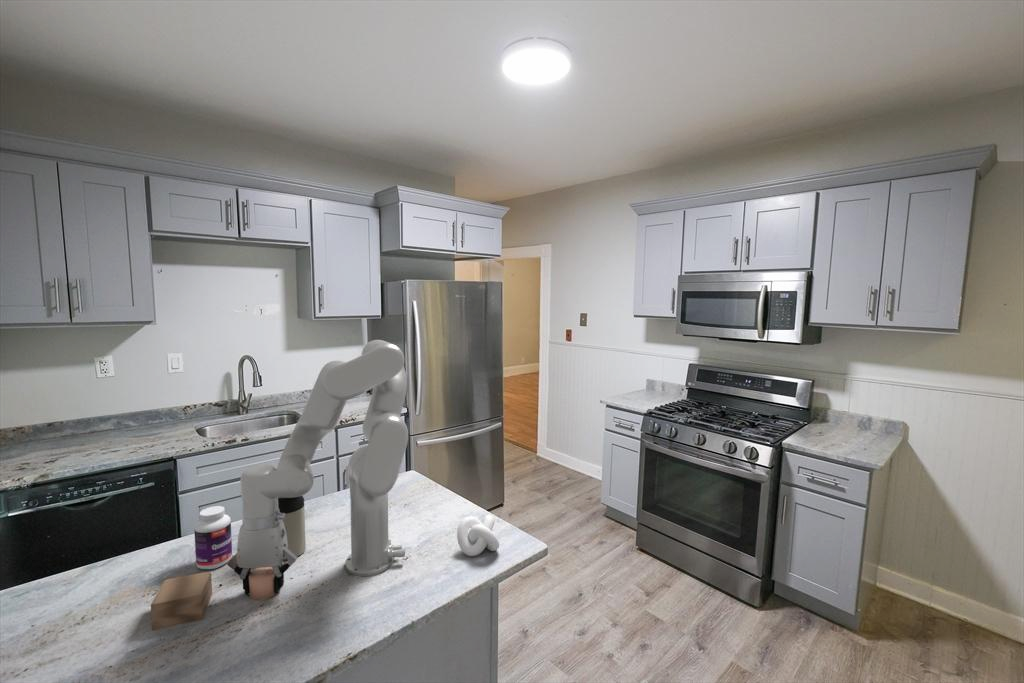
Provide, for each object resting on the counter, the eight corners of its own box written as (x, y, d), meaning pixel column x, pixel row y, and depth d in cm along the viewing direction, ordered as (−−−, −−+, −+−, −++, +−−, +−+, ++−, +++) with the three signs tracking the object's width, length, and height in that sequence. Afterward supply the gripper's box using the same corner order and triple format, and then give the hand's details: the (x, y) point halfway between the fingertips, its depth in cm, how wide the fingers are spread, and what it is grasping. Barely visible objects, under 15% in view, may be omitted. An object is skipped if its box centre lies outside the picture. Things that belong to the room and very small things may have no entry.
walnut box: (212, 594, 107) (211, 571, 106) (202, 620, 99) (201, 594, 98) (166, 604, 103) (164, 579, 103) (152, 631, 95) (150, 604, 95)
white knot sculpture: (510, 548, 128) (510, 519, 127) (481, 567, 119) (481, 535, 118) (481, 535, 135) (481, 506, 134) (452, 552, 126) (452, 521, 125)
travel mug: (278, 564, 119) (275, 499, 117) (270, 551, 125) (268, 489, 123) (309, 553, 124) (307, 491, 123) (300, 541, 130) (298, 481, 128)
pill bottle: (214, 573, 115) (211, 519, 113) (188, 569, 116) (185, 516, 115) (239, 556, 123) (237, 505, 121) (214, 552, 124) (212, 502, 123)
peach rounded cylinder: (281, 583, 111) (281, 564, 111) (272, 599, 105) (271, 579, 105) (256, 585, 110) (255, 566, 110) (244, 601, 105) (243, 581, 104)
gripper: (304, 509, 111) (306, 578, 113) (229, 512, 109) (233, 582, 110) (293, 525, 103) (296, 598, 105) (213, 528, 101) (217, 603, 103)
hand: (263, 589), depth 108 cm, fingers closed on peach rounded cylinder, 6 cm apart
